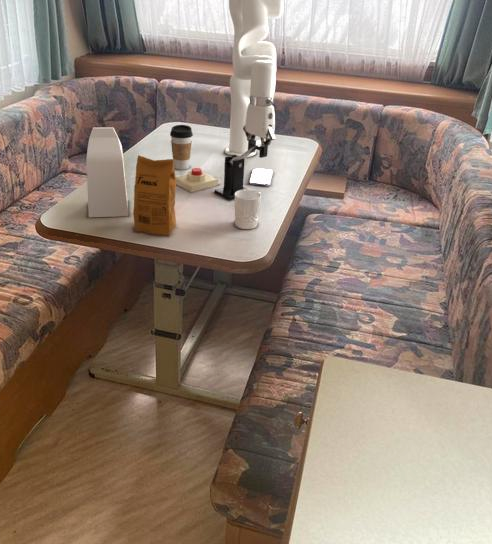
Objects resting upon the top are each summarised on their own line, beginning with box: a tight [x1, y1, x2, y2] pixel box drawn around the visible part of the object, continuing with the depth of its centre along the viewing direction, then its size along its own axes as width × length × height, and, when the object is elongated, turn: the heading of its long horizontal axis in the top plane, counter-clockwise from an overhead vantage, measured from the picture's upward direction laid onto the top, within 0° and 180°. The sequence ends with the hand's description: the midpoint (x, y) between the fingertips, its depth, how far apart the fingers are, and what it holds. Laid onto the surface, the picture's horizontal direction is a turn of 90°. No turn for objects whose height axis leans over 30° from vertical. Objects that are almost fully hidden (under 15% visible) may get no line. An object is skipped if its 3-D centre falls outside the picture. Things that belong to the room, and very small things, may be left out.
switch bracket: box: [213, 155, 248, 201], centre depth 194 cm, size 10×8×13 cm
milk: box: [85, 126, 129, 218], centre depth 176 cm, size 12×12×26 cm
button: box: [191, 167, 203, 176], centre depth 201 cm, size 4×4×2 cm
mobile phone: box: [248, 167, 274, 187], centre depth 210 cm, size 8×1×15 cm
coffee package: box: [133, 154, 177, 236], centre depth 166 cm, size 10×12×22 cm
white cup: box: [234, 188, 262, 230], centre depth 174 cm, size 8×8×10 cm
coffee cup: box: [169, 124, 194, 171], centre depth 214 cm, size 8×8×15 cm
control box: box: [175, 170, 219, 193], centre depth 203 cm, size 12×10×4 cm
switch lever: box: [229, 144, 260, 168], centre depth 193 cm, size 12×5×2 cm, turn 130°
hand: (257, 154), depth 197 cm, fingers closed on switch lever, 5 cm apart
